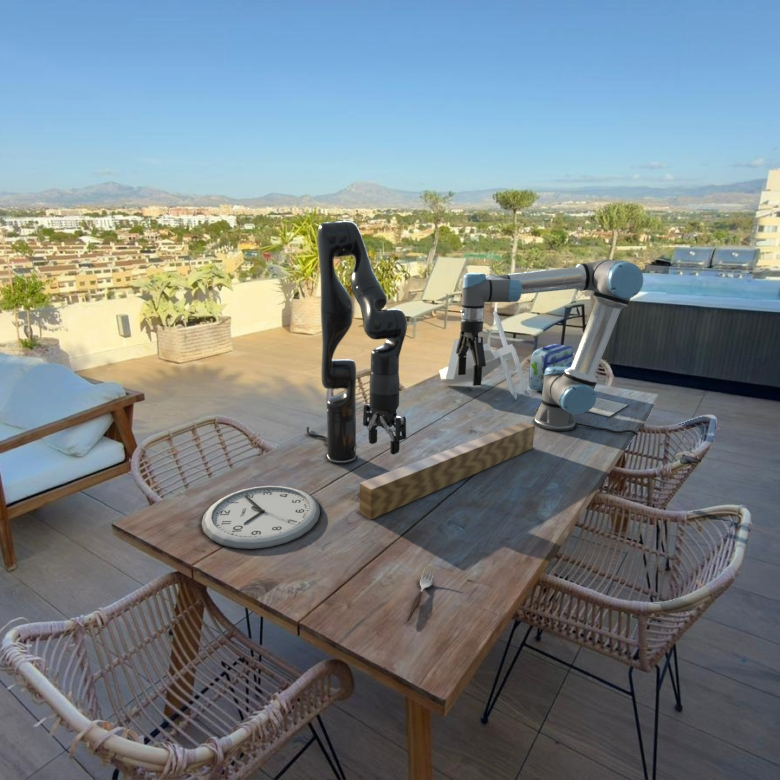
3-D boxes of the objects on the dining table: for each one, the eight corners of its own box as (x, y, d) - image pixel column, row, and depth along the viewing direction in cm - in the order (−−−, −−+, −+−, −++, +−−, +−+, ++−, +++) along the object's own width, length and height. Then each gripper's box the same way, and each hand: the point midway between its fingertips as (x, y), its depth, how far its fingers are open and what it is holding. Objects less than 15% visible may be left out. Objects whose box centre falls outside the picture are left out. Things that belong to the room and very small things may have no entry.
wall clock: (317, 540, 124) (186, 544, 121) (317, 546, 124) (187, 551, 121) (322, 481, 152) (216, 484, 150) (322, 486, 153) (216, 489, 150)
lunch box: (545, 396, 239) (550, 351, 232) (524, 391, 246) (528, 347, 240) (572, 385, 256) (577, 343, 250) (552, 380, 263) (557, 339, 257)
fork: (401, 621, 101) (401, 612, 100) (424, 572, 115) (424, 565, 115) (413, 625, 100) (414, 616, 100) (435, 575, 114) (436, 567, 114)
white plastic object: (461, 429, 252) (437, 405, 227) (444, 352, 274) (420, 323, 250) (535, 404, 240) (518, 377, 215) (510, 326, 262) (492, 293, 237)
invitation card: (608, 416, 214) (573, 407, 224) (608, 416, 214) (573, 408, 224) (628, 404, 229) (594, 396, 238) (628, 405, 229) (594, 397, 238)
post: (521, 444, 186) (523, 421, 183) (532, 448, 182) (535, 425, 180) (359, 512, 140) (359, 482, 137) (370, 519, 136) (371, 489, 134)
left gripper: (355, 385, 134) (355, 443, 139) (392, 398, 124) (390, 461, 129) (377, 380, 139) (377, 436, 144) (414, 392, 129) (412, 453, 134)
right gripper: (448, 314, 188) (446, 371, 194) (476, 326, 165) (473, 390, 171) (467, 313, 190) (465, 370, 196) (498, 325, 167) (494, 389, 173)
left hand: (383, 448), depth 136 cm, fingers open, 8 cm apart
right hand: (469, 379), depth 184 cm, fingers open, 13 cm apart
